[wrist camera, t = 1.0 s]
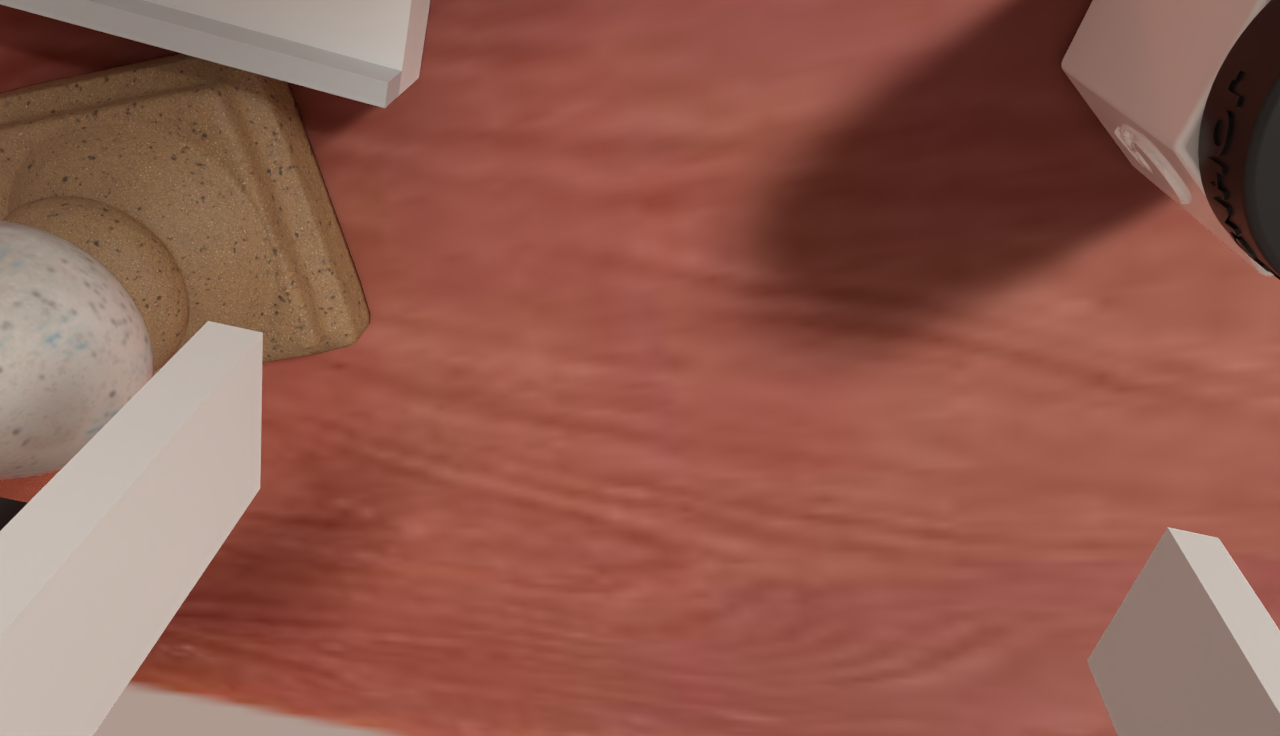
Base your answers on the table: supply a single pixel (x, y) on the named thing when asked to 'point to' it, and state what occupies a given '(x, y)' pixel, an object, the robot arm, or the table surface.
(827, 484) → the table surface
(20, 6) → the tray
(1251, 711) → the robot arm
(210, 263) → the candle holder
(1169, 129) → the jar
